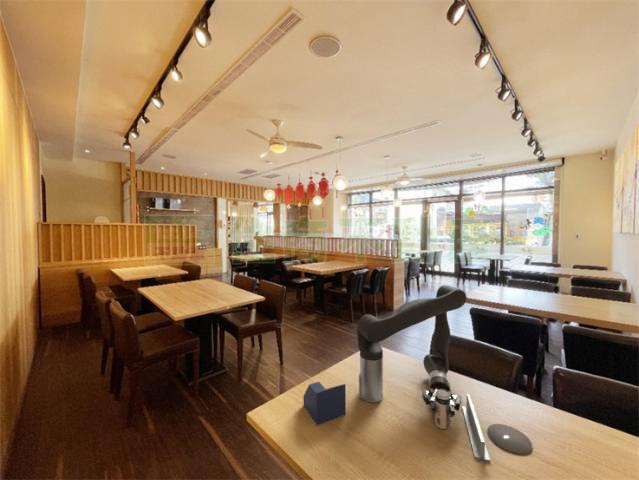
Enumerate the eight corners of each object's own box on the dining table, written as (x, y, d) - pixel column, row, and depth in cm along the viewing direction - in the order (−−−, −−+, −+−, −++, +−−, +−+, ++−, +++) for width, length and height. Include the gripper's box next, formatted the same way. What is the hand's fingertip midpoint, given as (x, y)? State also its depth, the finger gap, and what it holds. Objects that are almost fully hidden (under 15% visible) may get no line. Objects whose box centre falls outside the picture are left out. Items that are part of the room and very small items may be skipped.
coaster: (492, 448, 86) (492, 446, 86) (483, 422, 98) (483, 420, 98) (538, 458, 83) (538, 456, 83) (523, 430, 94) (523, 428, 94)
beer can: (451, 431, 94) (451, 397, 93) (436, 429, 95) (436, 396, 94) (447, 421, 99) (448, 389, 98) (433, 419, 100) (433, 387, 99)
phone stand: (330, 396, 114) (329, 368, 113) (345, 414, 103) (345, 383, 102) (303, 405, 108) (302, 376, 108) (316, 425, 98) (316, 393, 97)
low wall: (475, 459, 83) (475, 440, 82) (462, 408, 105) (462, 392, 105) (490, 462, 81) (490, 443, 81) (473, 410, 104) (474, 394, 104)
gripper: (420, 372, 112) (421, 398, 96) (459, 378, 107) (467, 406, 91) (419, 390, 112) (420, 418, 96) (458, 397, 108) (466, 428, 92)
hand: (443, 412), depth 94 cm, fingers closed on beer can, 4 cm apart
